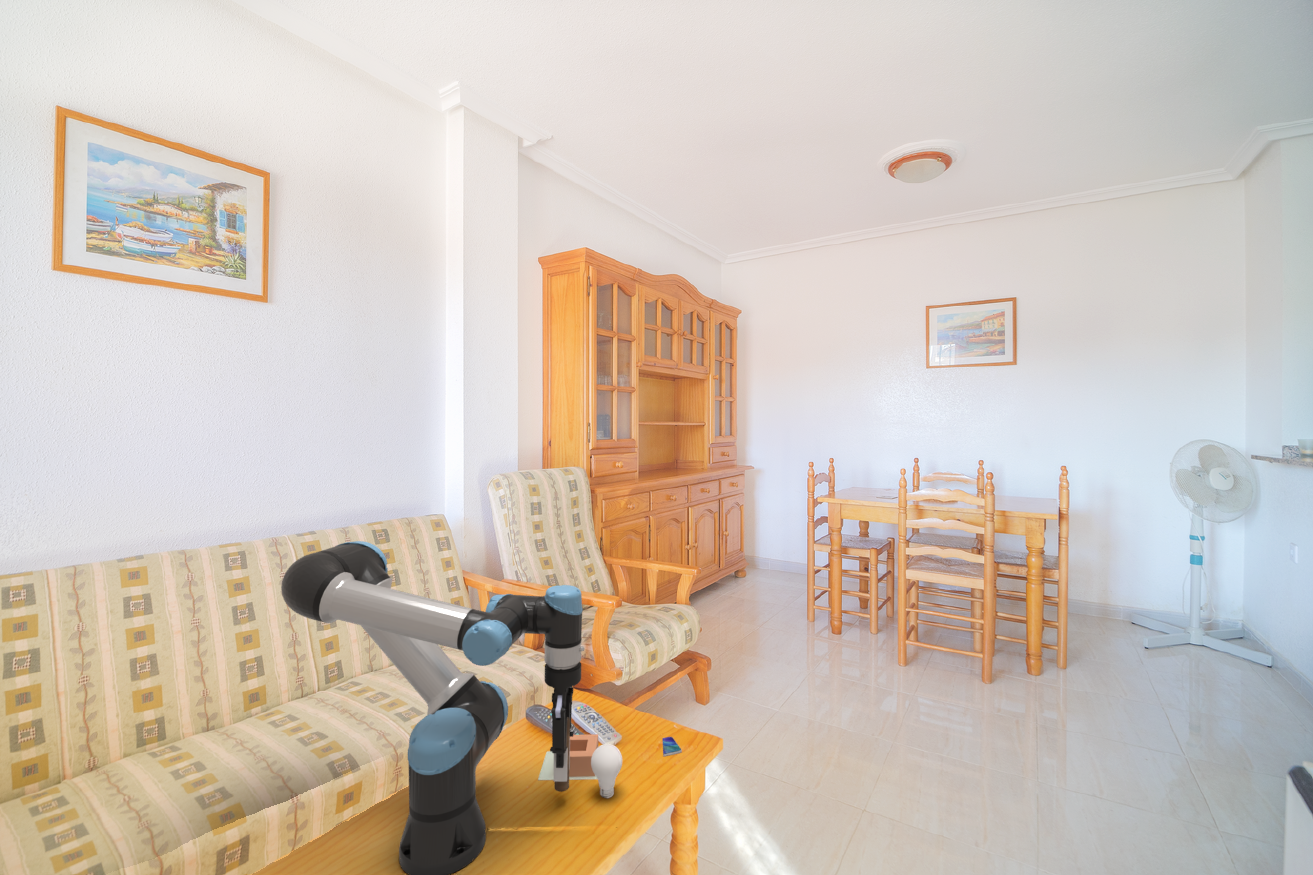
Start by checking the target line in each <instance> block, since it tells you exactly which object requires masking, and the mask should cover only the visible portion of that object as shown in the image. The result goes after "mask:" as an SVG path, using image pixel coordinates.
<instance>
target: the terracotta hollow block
mask: <svg viewBox="0 0 1313 875" xmlns="http://www.w3.org/2000/svg"><path fill="white" fill-rule="evenodd" d="M598 747H599V734H574V735H573V737H570V769H569V777H583V776H595V774H594V772H593V770H592V767H591V758H592V755H593V753H594V751H595V750H596V749H597V748H598Z"/></svg>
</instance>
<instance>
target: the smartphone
mask: <svg viewBox="0 0 1313 875" xmlns="http://www.w3.org/2000/svg"><path fill="white" fill-rule="evenodd" d="M661 739H662V753H663V754H662V755H663V756H662V757H668V756H674V755H678V754H681V753H682V748H681V747H680V745H679V744H678V743H677V742H676V740H675V738H674V737H673V736H667V737H662V738H661Z"/></svg>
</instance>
